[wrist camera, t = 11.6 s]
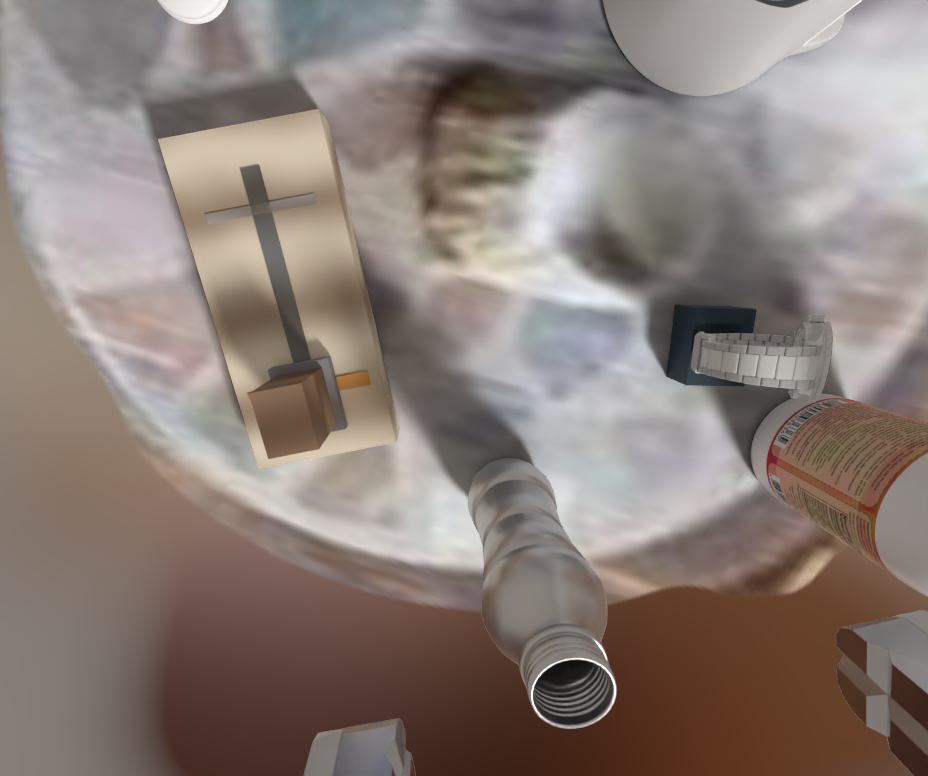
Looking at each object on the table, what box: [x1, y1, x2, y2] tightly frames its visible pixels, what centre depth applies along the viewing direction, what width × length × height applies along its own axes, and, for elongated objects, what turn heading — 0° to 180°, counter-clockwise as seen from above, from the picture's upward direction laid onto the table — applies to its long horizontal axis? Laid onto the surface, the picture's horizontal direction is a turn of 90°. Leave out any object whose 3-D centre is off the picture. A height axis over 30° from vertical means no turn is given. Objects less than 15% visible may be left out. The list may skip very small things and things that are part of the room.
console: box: [158, 109, 400, 469], centre depth 34 cm, size 22×10×3 cm, turn 10°
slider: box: [249, 356, 348, 459], centre depth 31 cm, size 5×4×6 cm
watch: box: [667, 305, 833, 403], centre depth 32 cm, size 6×8×11 cm
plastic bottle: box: [468, 458, 617, 729], centre depth 30 cm, size 6×7×20 cm
